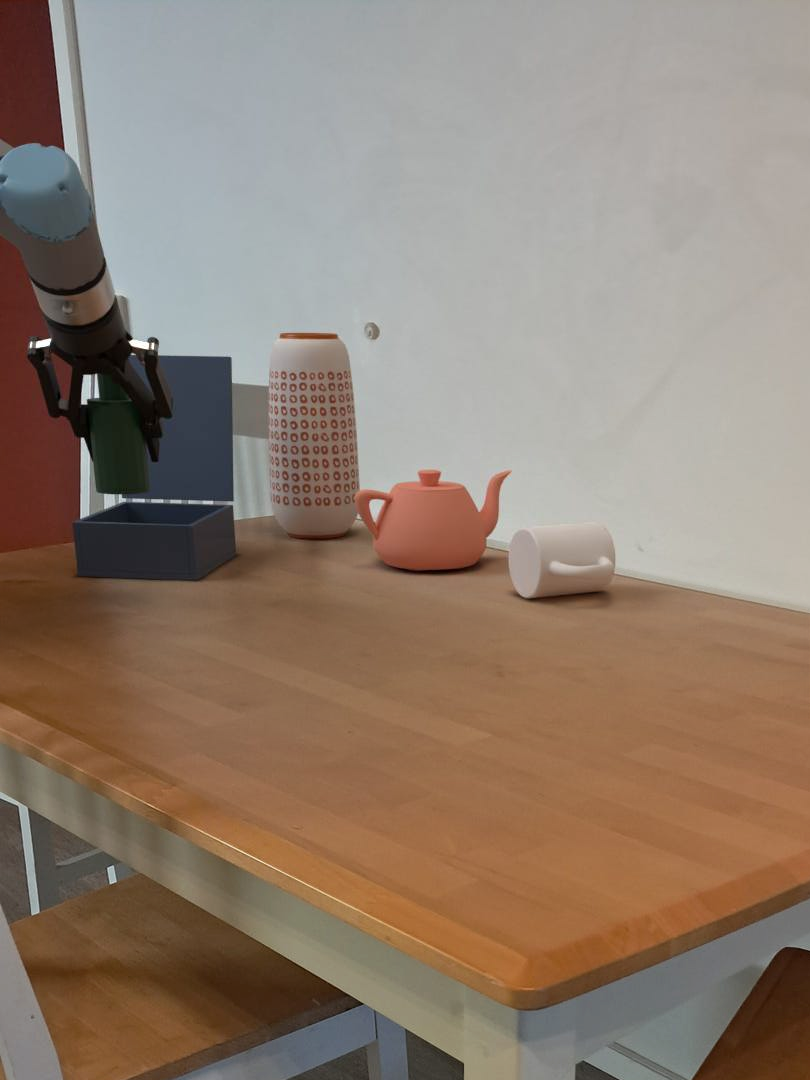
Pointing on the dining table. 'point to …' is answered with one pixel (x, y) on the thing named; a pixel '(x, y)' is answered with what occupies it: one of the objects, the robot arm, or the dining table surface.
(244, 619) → the dining table surface
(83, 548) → the chest
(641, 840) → the dining table surface
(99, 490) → the bottle
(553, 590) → the mug
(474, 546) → the teapot
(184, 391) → the chest lid
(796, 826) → the dining table surface
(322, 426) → the white patterned vase
